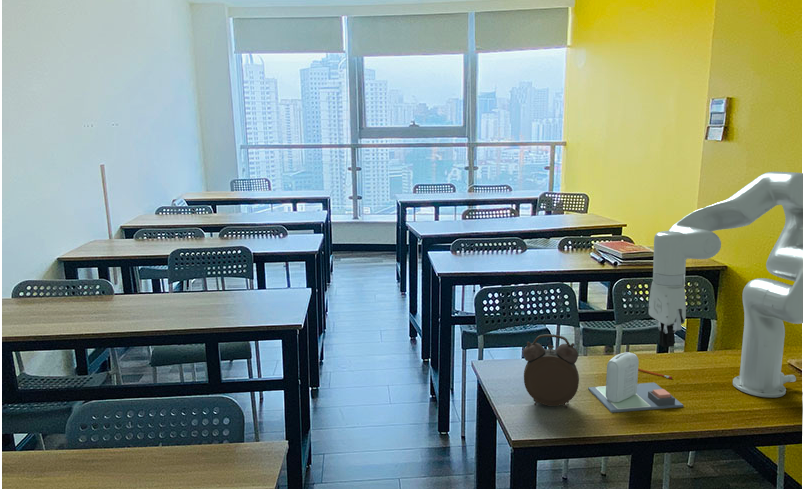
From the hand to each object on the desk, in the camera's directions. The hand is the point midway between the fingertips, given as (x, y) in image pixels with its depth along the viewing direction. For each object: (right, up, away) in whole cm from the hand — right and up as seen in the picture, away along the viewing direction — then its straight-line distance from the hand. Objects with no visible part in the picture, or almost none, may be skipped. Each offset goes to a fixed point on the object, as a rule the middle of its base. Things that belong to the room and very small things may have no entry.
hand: (666, 345), depth 145 cm
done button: (0, -15, +3) cm, 15 cm away
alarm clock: (-30, -17, +4) cm, 35 cm away
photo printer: (-10, -15, +6) cm, 19 cm away
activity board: (-6, -16, +6) cm, 18 cm away
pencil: (+3, -13, +24) cm, 27 cm away
